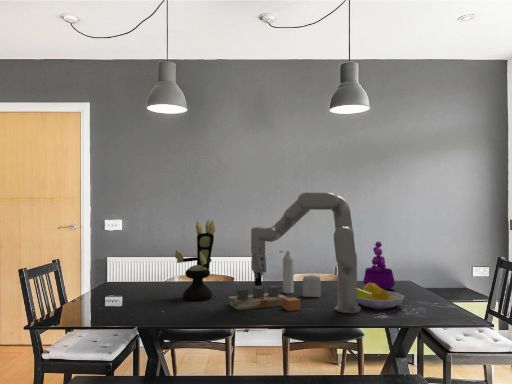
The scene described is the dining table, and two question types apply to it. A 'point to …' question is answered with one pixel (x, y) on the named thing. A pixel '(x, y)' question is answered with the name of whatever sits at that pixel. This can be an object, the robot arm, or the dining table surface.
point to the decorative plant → (379, 271)
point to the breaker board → (256, 302)
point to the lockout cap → (291, 304)
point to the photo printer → (311, 286)
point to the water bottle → (288, 273)
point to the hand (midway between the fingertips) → (258, 285)
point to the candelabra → (199, 264)
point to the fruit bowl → (377, 297)
